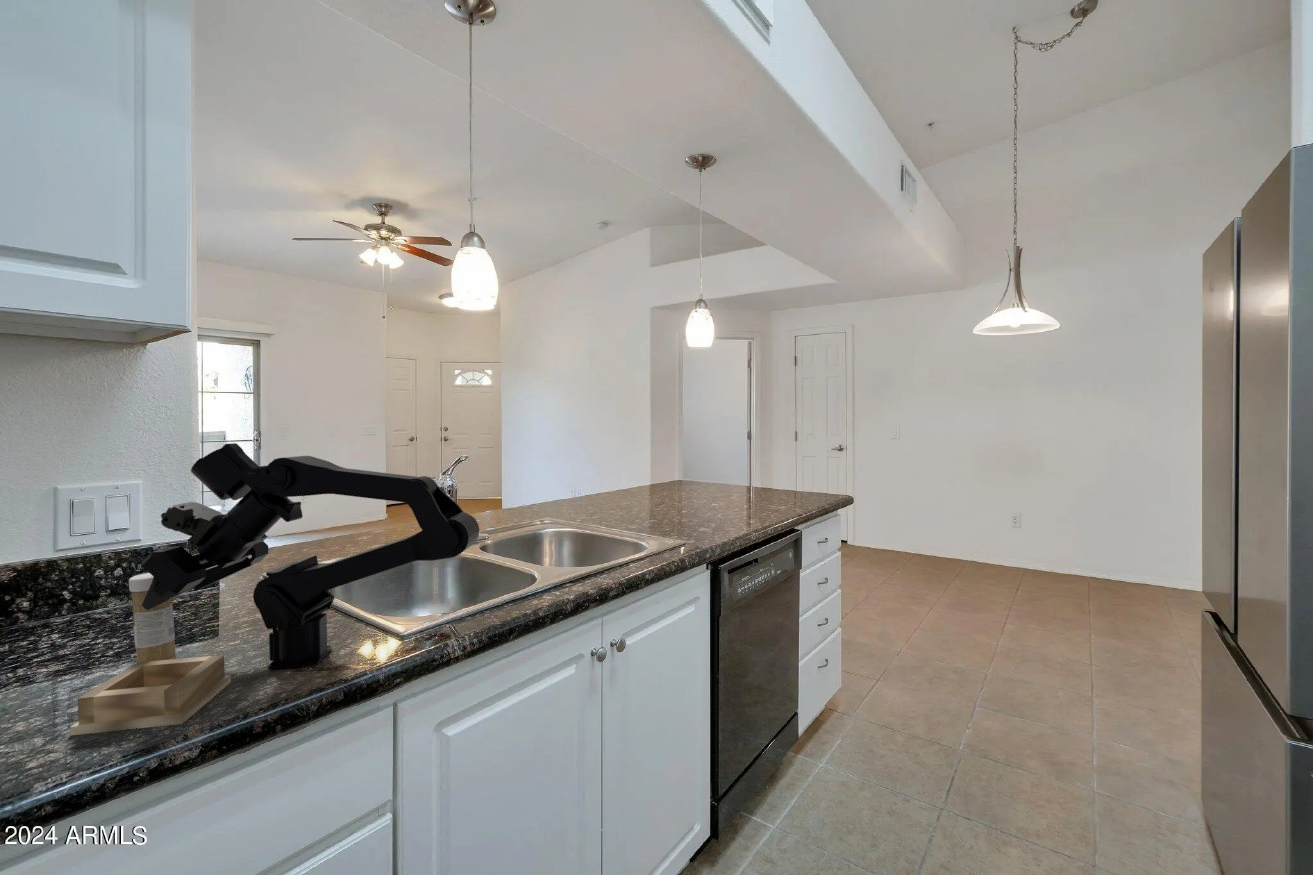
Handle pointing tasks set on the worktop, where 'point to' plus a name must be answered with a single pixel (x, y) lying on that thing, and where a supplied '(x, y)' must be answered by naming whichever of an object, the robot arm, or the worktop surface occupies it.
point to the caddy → (151, 695)
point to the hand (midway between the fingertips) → (171, 597)
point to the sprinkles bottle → (151, 624)
